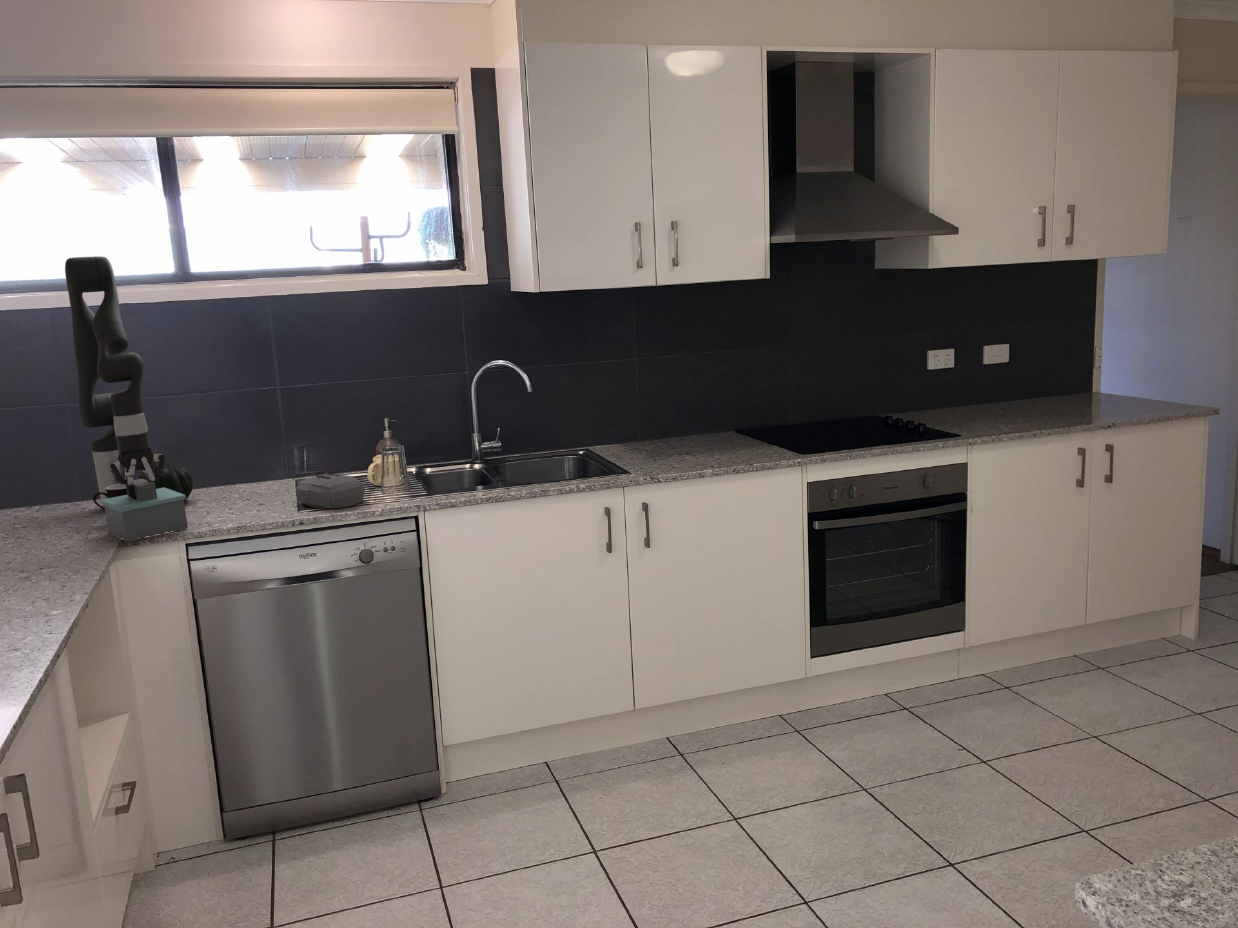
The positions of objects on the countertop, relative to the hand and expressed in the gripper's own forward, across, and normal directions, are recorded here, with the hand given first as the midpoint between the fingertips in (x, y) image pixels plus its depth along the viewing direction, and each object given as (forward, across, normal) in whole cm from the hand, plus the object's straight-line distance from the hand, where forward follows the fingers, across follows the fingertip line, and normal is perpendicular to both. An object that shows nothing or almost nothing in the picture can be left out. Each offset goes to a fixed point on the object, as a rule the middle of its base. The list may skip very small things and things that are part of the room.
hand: (142, 496), depth 257 cm
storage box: (+9, 0, 0) cm, 9 cm away
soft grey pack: (+10, -44, +16) cm, 48 cm away
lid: (+1, 0, 0) cm, 1 cm away
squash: (+10, -14, -28) cm, 33 cm away
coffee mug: (+9, 0, -18) cm, 20 cm away
